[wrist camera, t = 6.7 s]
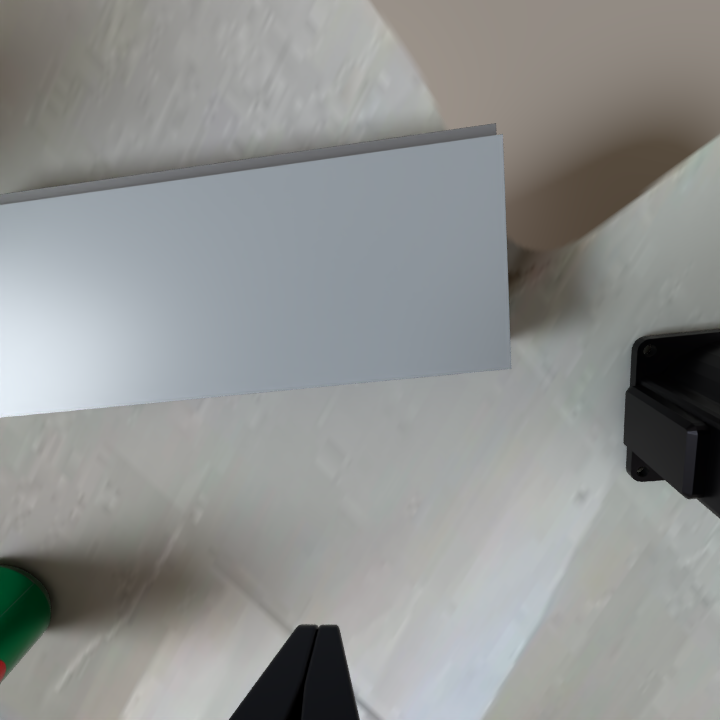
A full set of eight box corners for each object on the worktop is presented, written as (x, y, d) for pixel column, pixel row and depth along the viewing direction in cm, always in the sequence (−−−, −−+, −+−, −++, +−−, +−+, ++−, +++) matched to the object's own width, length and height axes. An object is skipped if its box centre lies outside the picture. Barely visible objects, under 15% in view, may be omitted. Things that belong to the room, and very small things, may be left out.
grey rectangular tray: (479, 139, 16) (496, 123, 14) (488, 344, 19) (503, 361, 16) (-9, 208, 18) (-69, 204, 16) (51, 388, 20) (6, 409, 18)
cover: (496, 140, 14) (502, 134, 13) (505, 363, 16) (511, 368, 15) (-64, 218, 16) (-87, 217, 15) (1, 411, 18) (-16, 418, 17)
